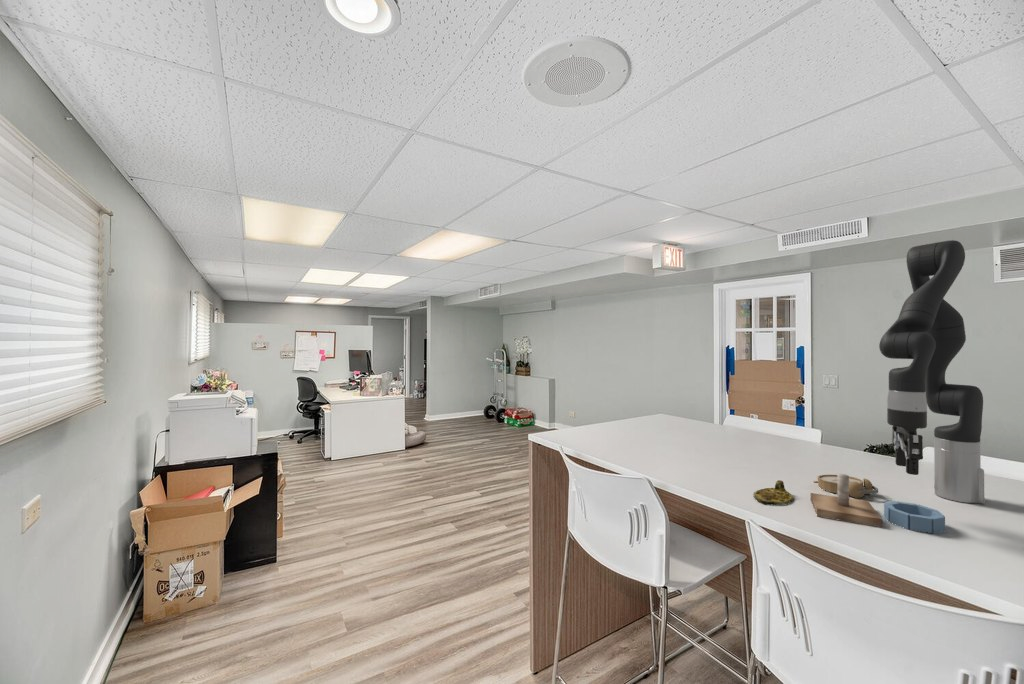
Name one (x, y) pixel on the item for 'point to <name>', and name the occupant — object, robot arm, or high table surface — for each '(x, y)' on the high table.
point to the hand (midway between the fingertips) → (906, 469)
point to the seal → (774, 495)
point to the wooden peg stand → (845, 506)
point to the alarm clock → (855, 485)
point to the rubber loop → (914, 517)
